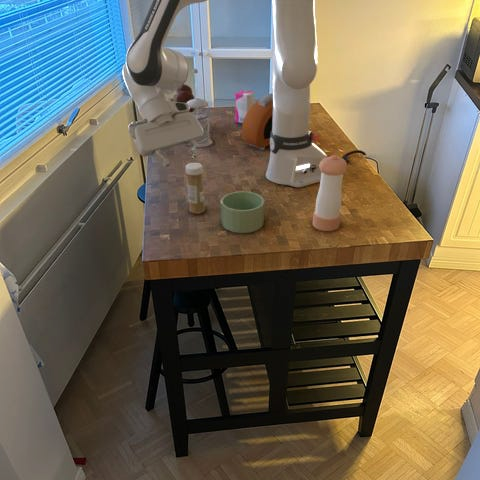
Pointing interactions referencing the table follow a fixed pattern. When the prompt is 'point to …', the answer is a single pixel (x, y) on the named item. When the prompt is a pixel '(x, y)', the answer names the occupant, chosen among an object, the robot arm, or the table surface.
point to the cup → (242, 211)
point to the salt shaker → (329, 194)
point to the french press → (201, 117)
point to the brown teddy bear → (184, 95)
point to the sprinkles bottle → (195, 187)
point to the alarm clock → (259, 123)
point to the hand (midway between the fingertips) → (181, 161)
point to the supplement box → (243, 104)
